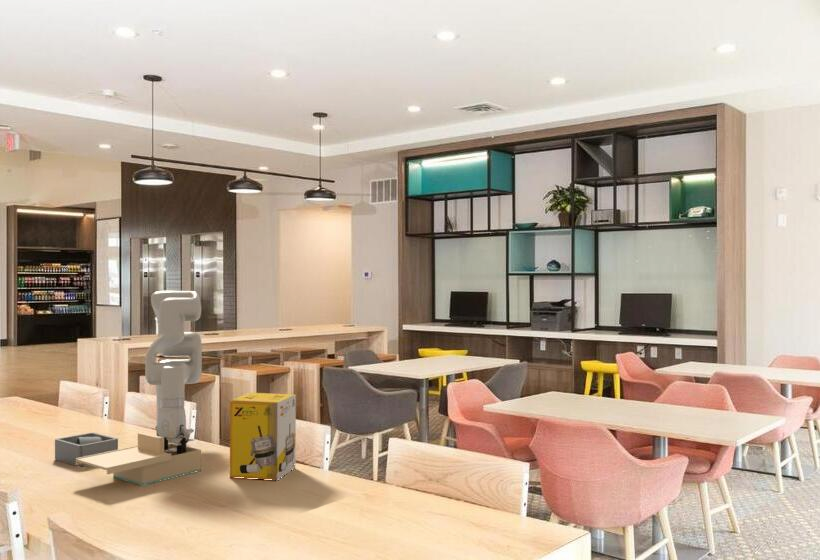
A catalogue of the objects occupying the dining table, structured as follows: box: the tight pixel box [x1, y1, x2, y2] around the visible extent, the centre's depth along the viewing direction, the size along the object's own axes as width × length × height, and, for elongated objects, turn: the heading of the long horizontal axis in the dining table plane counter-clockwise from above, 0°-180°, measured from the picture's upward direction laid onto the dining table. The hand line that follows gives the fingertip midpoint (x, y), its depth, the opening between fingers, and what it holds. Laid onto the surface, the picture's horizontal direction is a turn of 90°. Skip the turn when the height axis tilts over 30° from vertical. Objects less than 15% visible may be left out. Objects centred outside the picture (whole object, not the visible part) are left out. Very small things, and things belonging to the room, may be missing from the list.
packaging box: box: [229, 392, 297, 480], centre depth 250 cm, size 16×16×25 cm
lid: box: [76, 432, 171, 475], centre depth 239 cm, size 22×18×7 cm
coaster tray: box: [54, 432, 119, 467], centre depth 267 cm, size 14×16×7 cm
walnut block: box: [164, 448, 177, 456], centre depth 253 cm, size 4×4×6 cm
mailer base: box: [112, 443, 202, 486], centre depth 249 cm, size 22×16×7 cm
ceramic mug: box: [76, 437, 103, 445], centre depth 270 cm, size 11×8×8 cm
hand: (172, 454), depth 253 cm, fingers open, 9 cm apart
